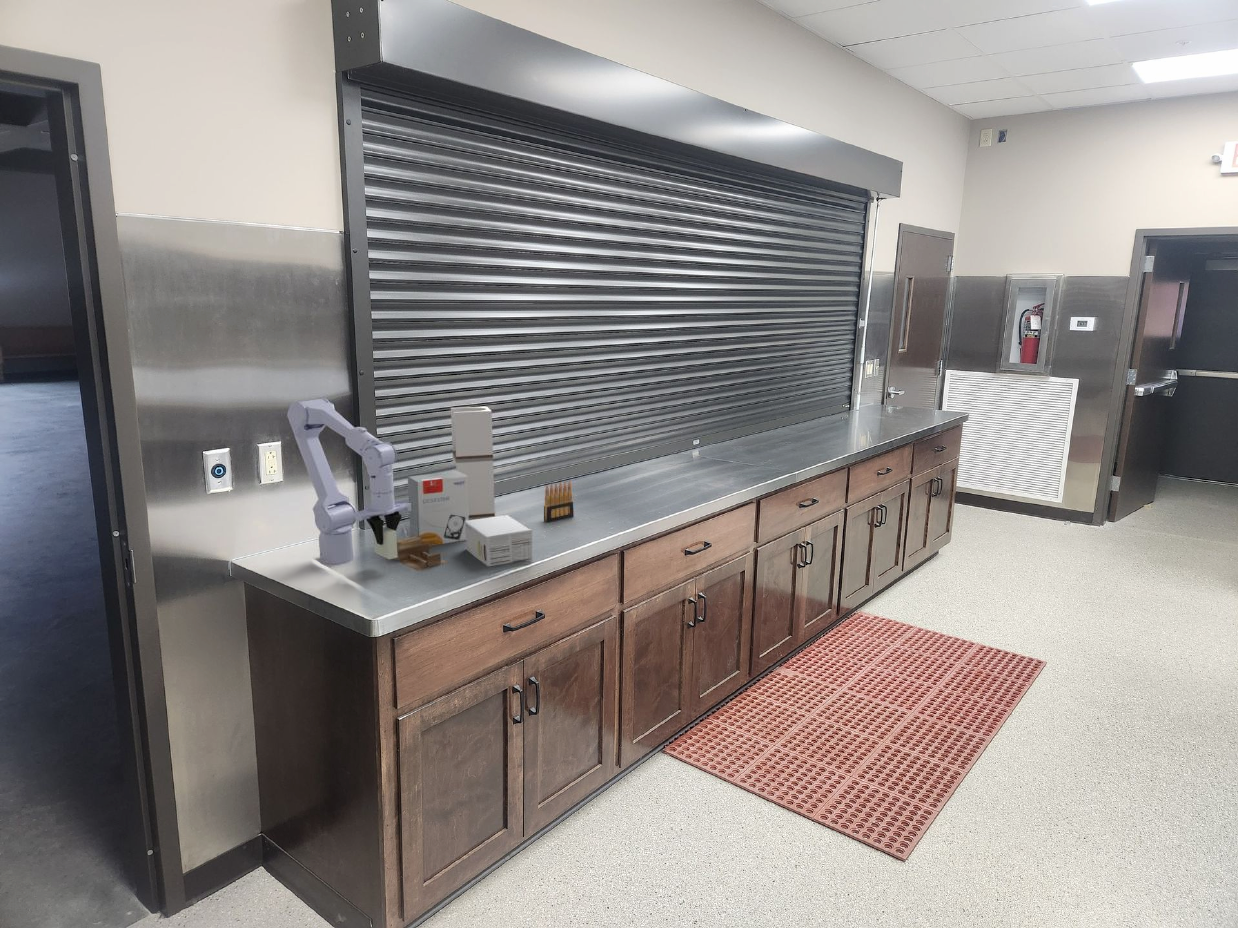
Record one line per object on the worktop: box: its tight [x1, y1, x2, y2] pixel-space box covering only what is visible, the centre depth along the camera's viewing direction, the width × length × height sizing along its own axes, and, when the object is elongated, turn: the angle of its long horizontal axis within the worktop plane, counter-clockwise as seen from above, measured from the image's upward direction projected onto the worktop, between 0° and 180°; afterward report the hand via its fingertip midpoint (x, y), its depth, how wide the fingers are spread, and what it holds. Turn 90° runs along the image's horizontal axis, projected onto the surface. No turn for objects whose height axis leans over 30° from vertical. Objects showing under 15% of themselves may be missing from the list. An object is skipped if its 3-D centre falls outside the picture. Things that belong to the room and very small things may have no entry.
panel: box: [372, 525, 398, 560], centre depth 204 cm, size 8×2×7 cm, turn 43°
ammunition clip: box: [543, 480, 575, 523], centre depth 255 cm, size 11×2×12 cm, turn 131°
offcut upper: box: [397, 536, 422, 550], centre depth 216 cm, size 3×6×2 cm, turn 137°
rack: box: [392, 543, 449, 571], centre depth 213 cm, size 15×9×4 cm, turn 43°
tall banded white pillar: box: [450, 406, 496, 520], centre depth 255 cm, size 11×11×35 cm
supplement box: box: [465, 514, 533, 567], centre depth 218 cm, size 17×13×9 cm
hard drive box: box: [407, 471, 469, 547], centre depth 229 cm, size 16×8×20 cm, turn 122°
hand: (385, 542), depth 204 cm, fingers closed on panel, 2 cm apart
